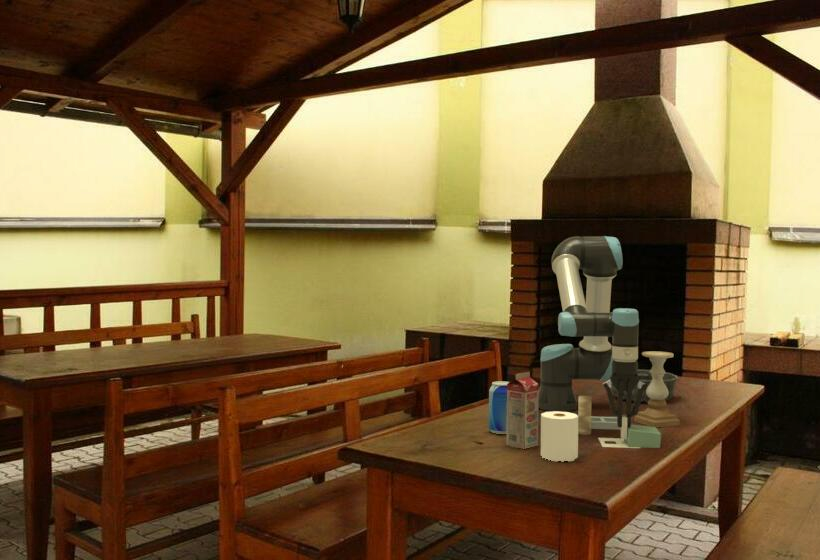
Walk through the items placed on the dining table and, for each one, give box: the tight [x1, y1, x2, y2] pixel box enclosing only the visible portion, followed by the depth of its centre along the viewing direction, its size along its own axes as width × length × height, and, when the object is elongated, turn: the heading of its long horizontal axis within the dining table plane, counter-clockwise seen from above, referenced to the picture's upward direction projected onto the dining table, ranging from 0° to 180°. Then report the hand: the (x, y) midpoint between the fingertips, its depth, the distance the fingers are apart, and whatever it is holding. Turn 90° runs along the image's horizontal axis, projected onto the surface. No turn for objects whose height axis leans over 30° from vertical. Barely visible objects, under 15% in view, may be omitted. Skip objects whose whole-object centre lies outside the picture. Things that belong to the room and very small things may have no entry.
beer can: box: [488, 380, 510, 435], centre depth 243 cm, size 8×8×16 cm
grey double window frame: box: [591, 415, 621, 431], centre depth 251 cm, size 15×9×2 cm, turn 83°
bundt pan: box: [610, 369, 679, 404], centre depth 299 cm, size 26×26×10 cm
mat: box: [597, 437, 642, 449], centre depth 229 cm, size 11×11×1 cm
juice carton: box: [506, 370, 540, 449], centre depth 226 cm, size 7×7×22 cm
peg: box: [577, 395, 592, 436], centre depth 240 cm, size 4×4×12 cm
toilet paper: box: [540, 411, 579, 463], centre depth 214 cm, size 10×10×12 cm
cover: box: [624, 424, 662, 449], centre depth 228 cm, size 9×9×4 cm
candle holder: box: [633, 350, 681, 429], centre depth 256 cm, size 11×11×24 cm
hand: (623, 437), depth 229 cm, fingers closed
